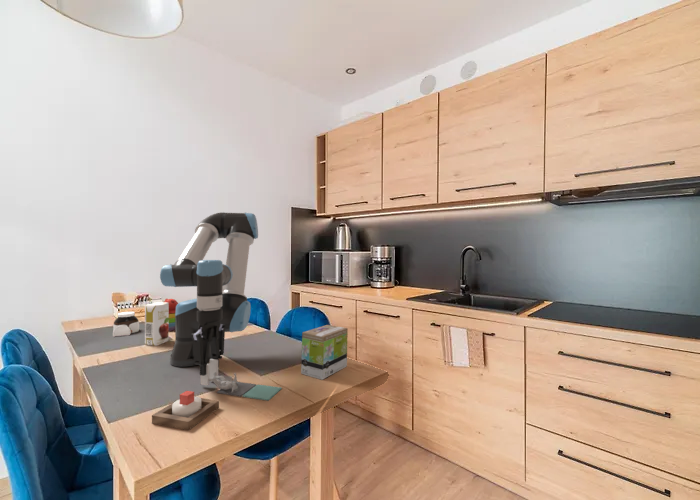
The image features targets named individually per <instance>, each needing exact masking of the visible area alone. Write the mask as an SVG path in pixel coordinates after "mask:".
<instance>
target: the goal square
mask: <svg viewBox="0 0 700 500" xmlns="http://www.w3.org/2000/svg"><path fill="white" fill-rule="evenodd" d="M282 389H283V388H282V387H281V386H279V387H278V386H274V385H273V386H271V385H265V384H259V383H258V384H256V386H255V387H253V388H252V389H251V390H249V391H248V392H247V393H245V394H244V395H243V396H242V398H246V399H248V398H249V399H255V400H260V401H261V400H262V401H270V400H271V399H273V397H275V395H277V394H278V393H279V392H280V391H281V390H282Z"/></svg>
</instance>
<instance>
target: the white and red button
mask: <svg viewBox="0 0 700 500" xmlns="http://www.w3.org/2000/svg"><path fill="white" fill-rule="evenodd" d="M201 398H202V397H199V396H195V391H193V390H192V391H191V390H185V391H184V392H181V393H180V394H179V399H177V400H176V401H174V402H172V403H173V404H172V403H171V404H172V415H175V416H181V417H187V418H188V417H190V416H191V415H193V414H194V413H196V412H197V411H199V410H200V409H201Z"/></svg>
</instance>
